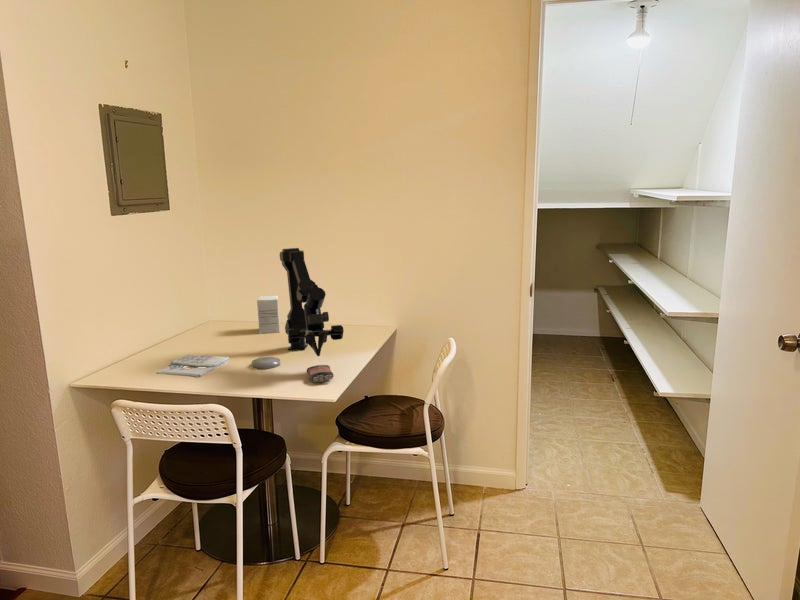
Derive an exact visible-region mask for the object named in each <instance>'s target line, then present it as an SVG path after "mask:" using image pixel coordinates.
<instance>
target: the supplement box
mask: <svg viewBox="0 0 800 600" xmlns="http://www.w3.org/2000/svg"><path fill="white" fill-rule="evenodd" d="M256 304H257V318H258V332H259V334H260V333H261V334H274V333H280V331H281V324H280V307H279V296H278V295H261V296H260V295H259V296H258V297H257V300H256Z"/></svg>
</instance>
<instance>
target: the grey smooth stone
mask: <svg viewBox="0 0 800 600" xmlns="http://www.w3.org/2000/svg"><path fill="white" fill-rule="evenodd" d="M279 366H281V359H280V358H279V357H276V356H264V357H262V356H261V357H258V358H255V359H253V360H252V361H251V367H252V369H255V368H257V369H256V370H270V369H275V368H278V367H279Z"/></svg>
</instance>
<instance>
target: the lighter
mask: <svg viewBox="0 0 800 600" xmlns="http://www.w3.org/2000/svg"><path fill="white" fill-rule="evenodd" d="M306 375H307V376H308V380H309V382H311V383H322V382H327V381H329V380H333V378H334V373H333V371H332V369H331V367H330V366H329V365H328V364H318V365H312V366H310V367H307V368H306Z"/></svg>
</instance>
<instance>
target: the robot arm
mask: <svg viewBox="0 0 800 600" xmlns="http://www.w3.org/2000/svg"><path fill="white" fill-rule="evenodd" d="M279 259H280V262H281V266H282V268H284V269H285V271H286V274H287V285H288V292H289V293H288V294H289V303H290V304H289V306H290V309H289V311H288V314H287V320H286V323H285V325H284V330H285V334H287V342H288V344H290V345H289V346H288V348H287V349H288V351H305V350H306V348H308V346H310V348H311V349H312V350H313V352H314V354H315V355H316V357H321V351H322V348H323V345H324V344H325V343H327V341H328V336H330V339H331V340H333V341H336V340H337V341H338V340H342V339H343V337H344V326H343V325H342V324H335V325H334V324H333V325H331V326H330V329H324V328H325V323H328V322H329V321H330V319H329V318H330V317H329V316H330V315H329V312H328V311H323V312H322V310H321V309H322V307H323V305H324V301H325V299H326V291H325V290H324V289H323V288H322V287H318V284H316V282H315V281H313V279H311V278H310V277H311V276H310V273H309V270H308V267H307V264H306V262H305V251H304V250H300V248H299V247H291V248H282V249H281V251H280V252H279ZM303 303H304V305H303ZM316 337H317V338H318V339H317V341H316Z"/></svg>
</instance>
